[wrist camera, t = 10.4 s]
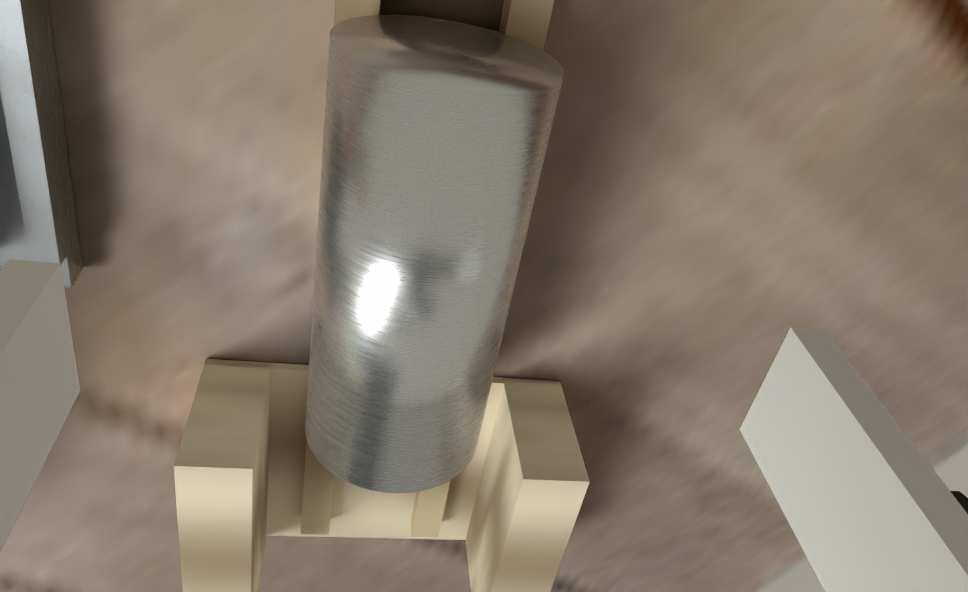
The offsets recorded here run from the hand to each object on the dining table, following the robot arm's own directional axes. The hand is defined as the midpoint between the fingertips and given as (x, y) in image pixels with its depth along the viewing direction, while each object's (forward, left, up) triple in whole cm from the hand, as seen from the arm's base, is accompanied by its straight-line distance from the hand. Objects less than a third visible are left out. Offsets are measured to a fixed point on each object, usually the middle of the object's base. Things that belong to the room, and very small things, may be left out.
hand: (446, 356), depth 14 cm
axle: (-1, 0, -8) cm, 8 cm away
